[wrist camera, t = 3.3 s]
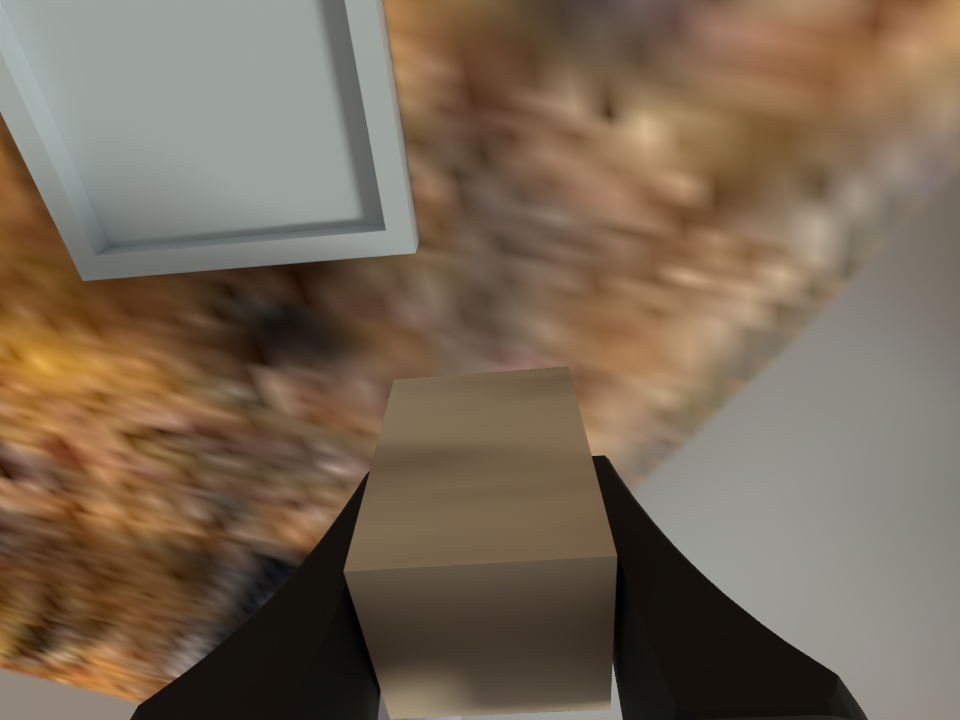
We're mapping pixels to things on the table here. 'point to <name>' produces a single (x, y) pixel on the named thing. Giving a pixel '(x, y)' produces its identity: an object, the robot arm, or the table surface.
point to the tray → (209, 131)
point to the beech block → (485, 550)
